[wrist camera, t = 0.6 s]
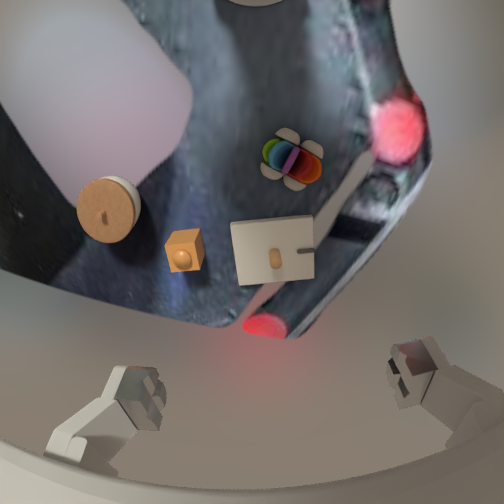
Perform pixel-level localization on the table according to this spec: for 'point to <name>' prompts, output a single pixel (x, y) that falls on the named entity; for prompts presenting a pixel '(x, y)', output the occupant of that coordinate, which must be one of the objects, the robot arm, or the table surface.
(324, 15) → the table surface
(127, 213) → the lidded jar
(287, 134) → the rainbow segmented toy
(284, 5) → the table surface
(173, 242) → the orange cube with dome
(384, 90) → the table surface
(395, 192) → the table surface
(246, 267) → the plate
